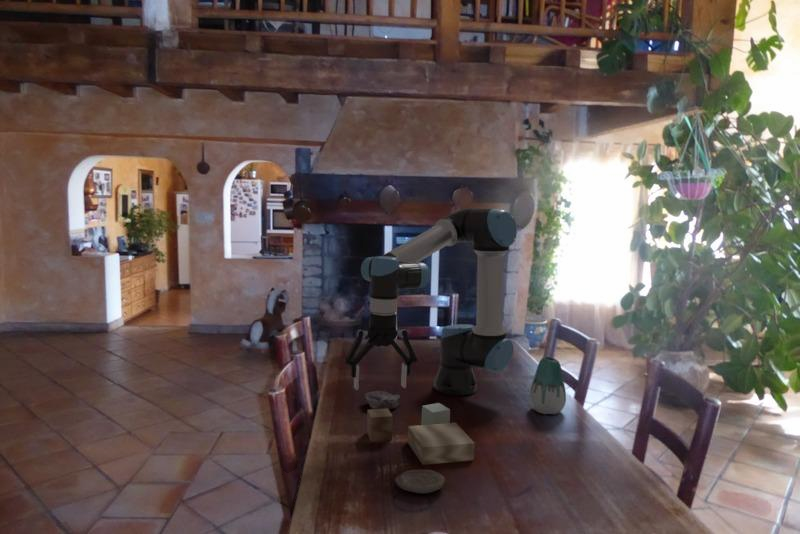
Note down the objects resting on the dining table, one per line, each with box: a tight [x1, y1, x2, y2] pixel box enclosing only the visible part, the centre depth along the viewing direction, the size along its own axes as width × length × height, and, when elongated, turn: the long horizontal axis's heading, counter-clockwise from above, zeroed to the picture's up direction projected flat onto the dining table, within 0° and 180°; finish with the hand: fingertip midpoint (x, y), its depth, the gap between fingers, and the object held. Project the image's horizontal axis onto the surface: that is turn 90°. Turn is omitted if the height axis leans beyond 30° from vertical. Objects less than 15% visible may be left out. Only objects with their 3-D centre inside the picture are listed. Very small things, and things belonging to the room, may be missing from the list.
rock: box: [364, 390, 401, 410], centre depth 188 cm, size 8×11×5 cm
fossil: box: [395, 469, 446, 494], centre depth 136 cm, size 10×12×3 cm
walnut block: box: [366, 408, 394, 443], centre depth 164 cm, size 6×6×7 cm
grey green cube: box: [420, 402, 451, 425], centre depth 172 cm, size 6×6×6 cm
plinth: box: [407, 422, 476, 466], centre depth 156 cm, size 14×14×5 cm
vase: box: [528, 356, 567, 415], centre depth 188 cm, size 12×12×18 cm
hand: (380, 387), depth 162 cm, fingers open, 13 cm apart
